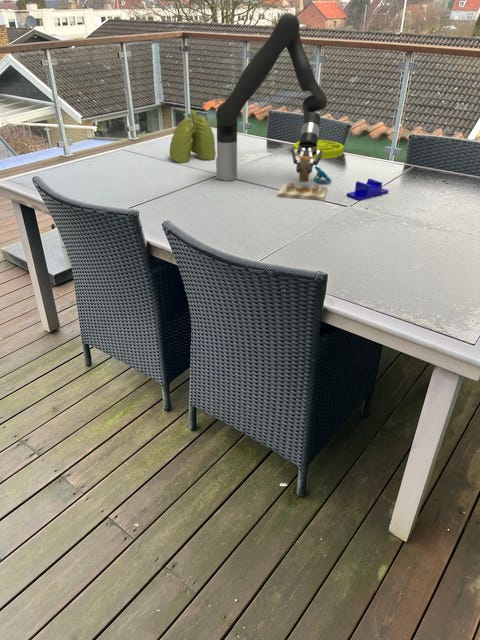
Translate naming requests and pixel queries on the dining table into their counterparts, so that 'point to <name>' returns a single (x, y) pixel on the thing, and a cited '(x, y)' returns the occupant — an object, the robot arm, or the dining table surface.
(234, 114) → the robot arm
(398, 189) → the dining table surface
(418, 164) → the dining table surface
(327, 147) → the pulley
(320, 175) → the gear
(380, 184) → the mounting bracket
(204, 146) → the lungs
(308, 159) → the pin
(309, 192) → the plate
